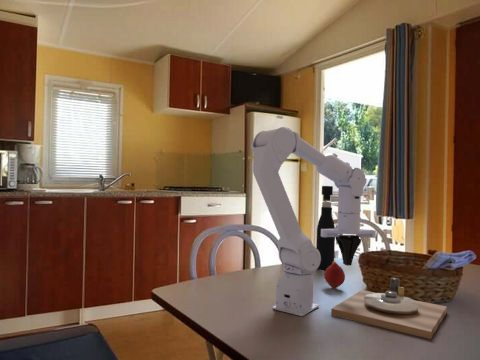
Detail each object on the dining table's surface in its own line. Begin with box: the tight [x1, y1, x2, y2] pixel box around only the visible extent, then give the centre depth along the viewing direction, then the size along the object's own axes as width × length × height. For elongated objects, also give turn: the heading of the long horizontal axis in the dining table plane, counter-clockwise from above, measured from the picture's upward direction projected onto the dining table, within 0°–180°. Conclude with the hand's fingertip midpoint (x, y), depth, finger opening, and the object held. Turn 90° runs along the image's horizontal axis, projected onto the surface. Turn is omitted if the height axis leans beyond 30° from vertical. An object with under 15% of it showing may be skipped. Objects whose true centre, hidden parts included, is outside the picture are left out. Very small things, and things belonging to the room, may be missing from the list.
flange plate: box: [364, 277, 419, 314], centre depth 93 cm, size 16×12×4 cm
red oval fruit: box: [323, 260, 346, 290], centre depth 112 cm, size 6×6×8 cm
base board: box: [331, 286, 448, 340], centre depth 91 cm, size 21×21×5 cm
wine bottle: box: [315, 185, 336, 272], centre depth 139 cm, size 6×6×30 cm
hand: (347, 264), depth 101 cm, fingers closed
